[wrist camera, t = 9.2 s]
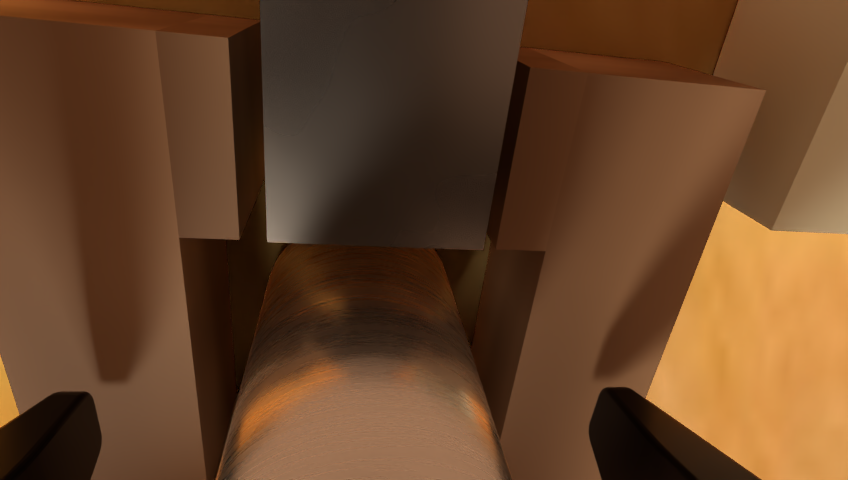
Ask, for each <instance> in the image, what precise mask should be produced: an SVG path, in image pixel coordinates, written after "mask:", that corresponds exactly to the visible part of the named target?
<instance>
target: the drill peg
mask: <svg viewBox="0 0 848 480" xmlns="http://www.w3.org/2000/svg"><path fill="white" fill-rule="evenodd" d="M216 480H512V477H511V474H510V470H509V467H508V464H507V461H506V458H505V455H504V452H503V449H502V446H501V442H500V439H499V436H498V433H497V430H496V427H495V424H494V421H493V418H492V414H491V411H490V408H489V405H488V402H487V399H486V396H485V393H484V390H483V386H482V383H481V380H480V377H479V374H478V371H477V368H476V365H475V362H474V358H473V355H472V352H471V349H470V346H469V343H468V340H467V337H466V334H465V330H464V327H463V324H462V321H461V318H460V315H459V312H458V309H457V306H456V302H455V299H454V296H453V293H452V290H451V287H450V284H449V281H448V278H447V274H446V271H445V269H444V266H443V264H442V261H441V259H440V258H439V256H438V254H437V253H436V251H435V250H434V249H433V248H408V247H381V246H354V245H327V244H300V243H289V244H288V245H287V246H286V247H285V249H284V250H283V251H282V252H281V254H280V255H279V257H278V258H277V260H276V262H275V264H274V266H273V268H272V271H271V274H270V277H269V281H268V285H267V288H266V292H265V296H264V300H263V303H262V307H261V311H260V315H259V318H258V322H257V326H256V330H255V334H254V337H253V341H252V345H251V349H250V352H249V356H248V360H247V364H246V367H245V371H244V375H243V379H242V383H241V386H240V390H239V394H238V398H237V401H236V405H235V409H234V413H233V417H232V420H231V424H230V428H229V432H228V435H227V439H226V443H225V447H224V450H223V454H222V458H221V462H220V466H219V469H218V473H217V477H216Z"/></svg>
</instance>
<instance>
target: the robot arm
mask: <svg viewBox="0 0 848 480" xmlns="http://www.w3.org/2000/svg"><path fill="white" fill-rule="evenodd" d="M588 430H589V439H590V443H591V446H592V450H593V453H594V456H595V460H596V463H597V466H598V470H599V473H600V476H601V480H761V479H760V478H758V477H757V476H755V475H754V474H753V473H751V472H750V471H748V470H747V469H745V468H744V467H743V466H741V465H740V464H738V463H737V462H735V461H734V460H733V459H731V458H730V457H728V456H727V455H725V454H724V453H723V452H721V451H720V450H718V449H717V448H715V447H714V446H712V445H711V444H710V443H708V442H707V441H705V440H704V439H702V438H701V437H700V436H698V435H697V434H695V433H694V432H692V431H691V430H690V429H688V428H687V427H685V426H684V425H682V424H681V423H680V422H678V421H677V420H675V419H674V418H672V417H671V416H670V415H668V414H667V413H665V412H664V411H662V410H661V409H660V408H658V407H657V406H655V405H654V404H652V403H651V402H650V401H648V400H647V399H645V398H644V397H642V396H641V395H640V394H638V393H637V392H635V391H634V390H632V389H631V388H628V387H606V388H603V389H602V390H601V392H600V394H599V396H598V399H597V402H596V405H595V408H594V411H593V414H592V417H591V420H590V423H589V429H588ZM101 445H102V433H101V428H100V424H99V420H98V416H97V411H96V407H95V403H94V399H93V397H92V395H91V394H90V393H89V392H85V391H60V392H56V393H53V394H51V395H49V396H48V397H46V398H45V399H43V400H42V401H40V402H39V403H37V404H36V405H34V406H33V407H31V408H30V409H28V410H27V411H25V412H24V413H22V414H20V415H19V416H17V417H16V418H14V419H13V420H11V421H10V422H8V423H7V424H5V425H4V426H2V427H1V428H0V480H91V477H92V474H93V471H94V469H95V466H96V463H97V460H98V457H99V454H100V450H101Z"/></svg>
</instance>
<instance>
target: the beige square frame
mask: <svg viewBox="0 0 848 480" xmlns="http://www.w3.org/2000/svg"><path fill="white" fill-rule="evenodd" d="M713 76H717V77H720V78H724V79H727V80H731V81H735V82H738V83H742V84H745V85H749V86H753V87H756V88H760V89H763V90H766V92H765V95H764V97H763V100H762V102H761V105H760V108H759V110H758V113H757V115H756V118H755V120H754V123H753V125H752V128H751V130H750V133H749V136H748V138H747V141H746V143H745V146H744V148H743V151H742V153H741V156H740V158H739V161H738V164H737V166H736V169H735V171H734V174H733V176H732V179H731V181H730V184H729V186H728V189H727V192H726V194H725V197H724V199H723V201H724V202H726V203H727V204H729V205H731V206H732V207H734V208H735V209H737V210H739V211H740V212H742V213H744V214H745V215H747V216H749V217H750V218H752V219H754V220H755V221H757V222H759V223H760V224H762V225H763V226H765V227H767V228H768V229H770V230H774V231H795V232H816V233H837V234H848V0H739V1H738V4H737V7H736V9H735V12H734V15H733V18H732V21H731V24H730V27H729V30H728V33H727V36H726V39H725V41H724V44H723V47H722V50H721V53H720V56H719V59H718V62H717V65H716V68H715V71H714V73H713Z"/></svg>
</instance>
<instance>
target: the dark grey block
mask: <svg viewBox="0 0 848 480" xmlns="http://www.w3.org/2000/svg"><path fill="white" fill-rule="evenodd" d="M527 4H528V0H260V25H261V59H262V92H263V125H264V159H265V192H266V225H267V242H273V243H300V244H327V245H354V246H381V247H408V248H435V249H463V250H483V249H484V243H485V238H486V232H487V227H488V221H489V215H490V210H491V204H492V199H493V193H494V187H495V182H496V176H497V171H498V165H499V160H500V154H501V148H502V143H503V137H504V132H505V126H506V121H507V115H508V109H509V104H510V98H511V93H512V87H513V82H514V76H515V70H516V65H517V59H518V54H519V48H520V43H521V37H522V31H523V26H524V20H525V15H526V9H527Z"/></svg>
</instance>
